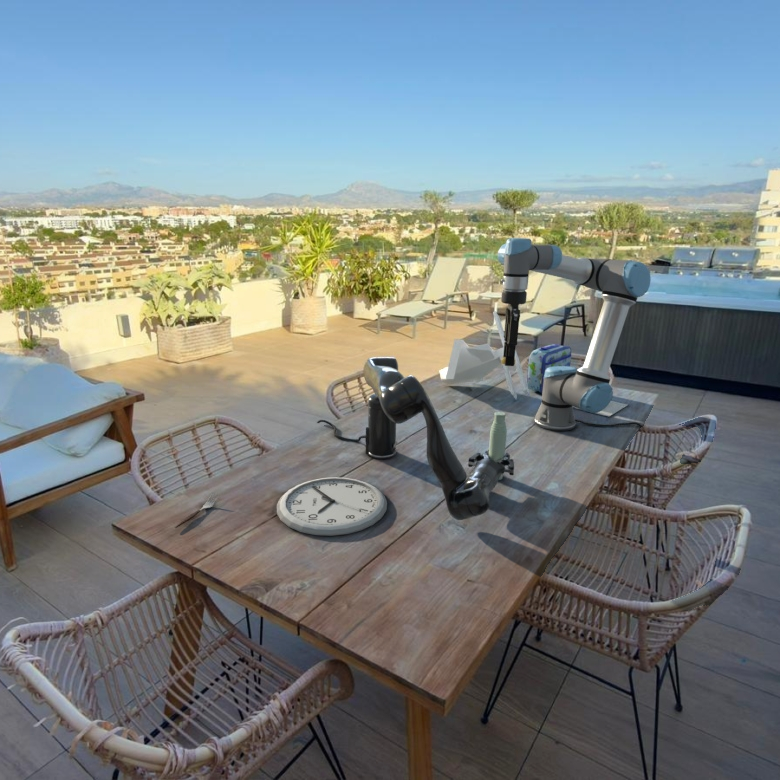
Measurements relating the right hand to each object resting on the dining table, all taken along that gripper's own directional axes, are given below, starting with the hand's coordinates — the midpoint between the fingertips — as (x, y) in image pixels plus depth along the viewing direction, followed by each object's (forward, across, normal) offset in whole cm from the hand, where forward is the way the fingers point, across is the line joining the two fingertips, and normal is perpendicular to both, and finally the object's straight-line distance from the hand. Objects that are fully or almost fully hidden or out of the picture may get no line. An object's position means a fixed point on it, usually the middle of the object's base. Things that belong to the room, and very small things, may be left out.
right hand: (508, 363), depth 168 cm
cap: (-1, 0, 0) cm, 1 cm away
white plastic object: (+32, -69, -2) cm, 76 cm away
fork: (+31, +49, -85) cm, 103 cm away
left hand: (+25, +15, -3) cm, 29 cm away
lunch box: (+32, -79, +32) cm, 91 cm away
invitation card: (+32, -55, +50) cm, 81 cm away
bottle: (+32, +18, -4) cm, 36 cm away
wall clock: (+31, +40, -50) cm, 72 cm away
